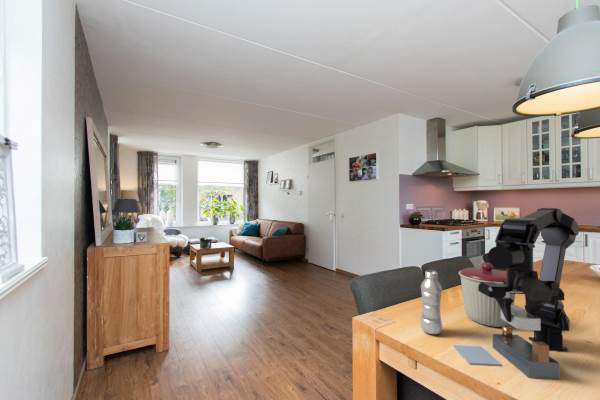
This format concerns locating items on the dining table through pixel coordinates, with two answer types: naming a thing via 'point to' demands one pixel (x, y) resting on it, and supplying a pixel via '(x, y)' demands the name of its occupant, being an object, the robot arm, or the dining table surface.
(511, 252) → the robot arm
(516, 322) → the lever cap
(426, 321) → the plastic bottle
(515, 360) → the body
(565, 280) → the dining table surface
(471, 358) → the rubber pad
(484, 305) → the canister
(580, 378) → the dining table surface
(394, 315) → the dining table surface
